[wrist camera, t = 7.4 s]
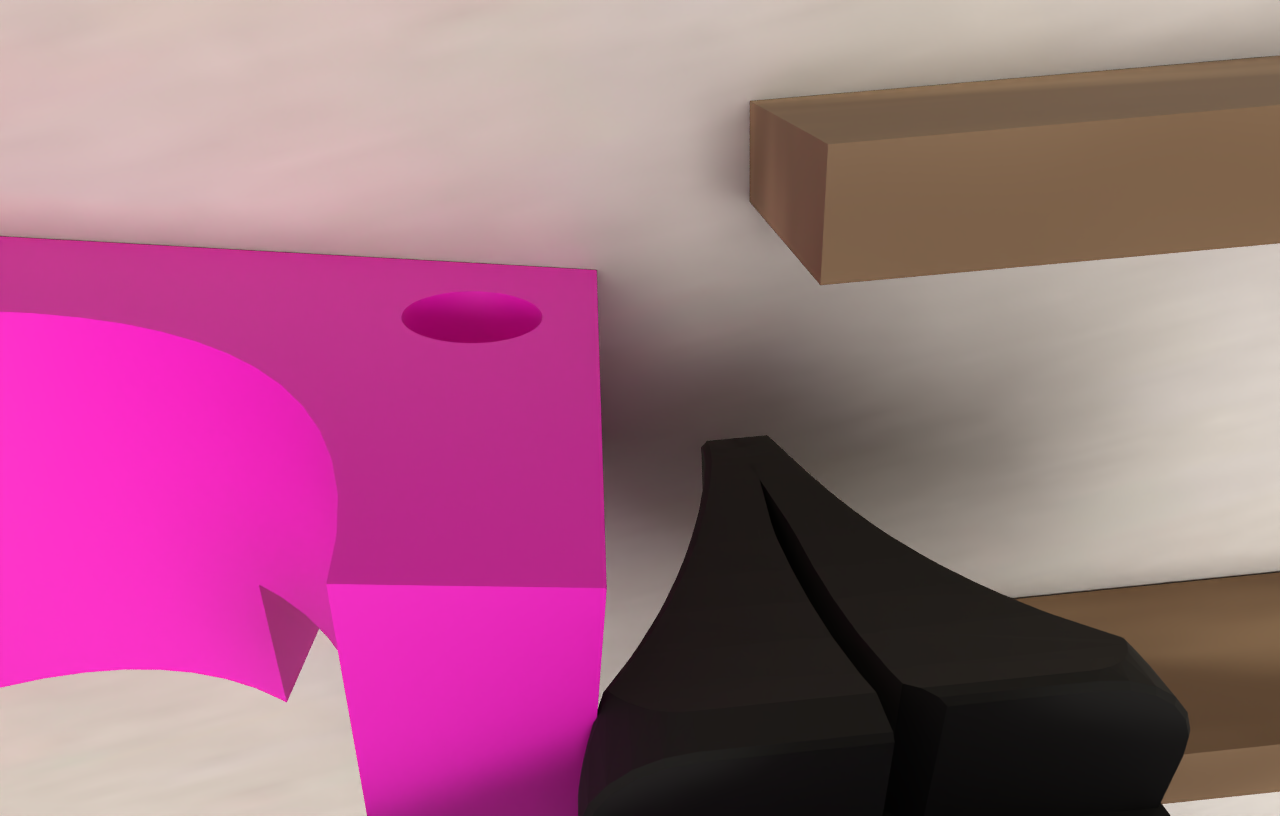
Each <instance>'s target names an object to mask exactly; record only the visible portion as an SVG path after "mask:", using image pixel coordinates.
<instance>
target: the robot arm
mask: <svg viewBox="0 0 1280 816" xmlns="http://www.w3.org/2000/svg"><path fill="white" fill-rule="evenodd" d="M701 453H702V483H703V492H702V497H701V503H700V509H699V513H698V517H697V520H696V524H695V527H694V531H693V534H692V538H691V541H690V544H689V547H688V550H687V553H686V556H685V558H684V561H683V563H682V566H681V568H680V571H679V573H678V576H677V578H676V580H675V582H674V584H673V586H672V588H671V590H670V593H669V595H668V597H667V599H666V601H665V603H664V605H663V606H662V608H661V610H660V612H659V614H658V616H657V617H656V619H655V621H654V622H653V624H652V625H651V627H650V629H649V630H648V632H647V633H646V635H645V637H644V638H643V640H642V641H641V643H640V645H639V646H638V648H637V649H636V651H635V652H634V653H633V655H632V656H631V658H630V659H629V660H628V662H627V663H626V664H625V665H624V667H623V668H622V669H621V671H620V672H619V673H618V674H617V676H616V677H615V678H614V680H613V681H612V682H611V683H610V685H609V686H608V687H607V689H606V690H605V691H604V692H603V695H602V698H601V701H600V704H599V707H598V710H597V718H596V720H595V721H594V722H593V726H592V729H591V733H590V736H589V739H588V743H587V747H586V751H585V755H584V759H583V764H582V769H581V775H580V782H579V790H578V816H1170V814H1169V813H1168V812H1167V810H1166V809H1165V808H1164V806H1163V805H1162V803H1161V801H1162V799H1163V797H1164V795H1165V793H1166V791H1167V789H1168V787H1169V785H1170V783H1171V780H1172V778H1173V776H1174V774H1175V772H1176V770H1177V768H1178V766H1179V764H1180V762H1181V760H1182V758H1183V756H1184V752H1185V749H1186V745H1187V742H1188V738H1189V734H1190V724H1189V718H1188V712H1187V711H1186V709H1185V708H1184V707H1183V706H1182V704H1181V703H1180V702H1179V700H1178V699H1177V698H1176V696H1175V695H1174V694H1173V693H1172V692H1171V690H1170V689H1169V688H1168V687H1167V686H1166V684H1165V683H1164V682H1163V681H1162V680H1161V678H1160V677H1159V676H1158V675H1157V674H1156V672H1155V671H1154V670H1153V669H1152V668H1151V666H1150V665H1149V664H1148V663H1147V662H1146V661H1145V660H1144V659H1143V658H1142V657H1141V655H1140V654H1139V653H1138V652H1137V651H1136V650H1135V649H1134V648H1133V647H1132V646H1131V645H1130V644H1129V643H1128V642H1127V641H1126V640H1125V639H1124V638H1123V637H1120V636H1117V635H1114V634H1111V633H1108V632H1105V631H1102V630H1099V629H1096V628H1093V627H1090V626H1086V625H1083V624H1080V623H1077V622H1074V621H1071V620H1068V619H1065V618H1062V617H1059V616H1056V615H1053V614H1050V613H1048V612H1045V611H1042V610H1040V609H1037V608H1035V607H1032V606H1030V605H1027V604H1025V603H1022V602H1020V601H1017V600H1015V599H1012V598H1010V597H1007V596H1005V595H1002V594H1000V593H998V592H996V591H993V590H991V589H989V588H987V587H984V586H982V585H980V584H978V583H975V582H973V581H971V580H969V579H967V578H965V577H963V576H961V575H959V574H957V573H955V572H953V571H951V570H949V569H947V568H945V567H943V566H941V565H939V564H937V563H936V562H934V561H932V560H930V559H928V558H926V557H925V556H923V555H921V554H919V553H918V552H916V551H914V550H913V549H911V548H909V547H908V546H906V545H904V544H903V543H901V542H899V541H898V540H896V539H894V538H893V537H891V536H890V535H888V534H886V533H885V532H883V531H882V530H880V529H879V528H877V527H876V526H874V525H873V524H872V523H870V522H869V521H867V520H866V519H865V518H863V517H862V516H861V515H859V514H858V513H856V512H855V511H854V510H852V509H851V508H850V507H848V506H847V505H846V504H844V503H843V502H842V501H841V500H839V499H838V498H837V497H836V496H834V495H833V494H832V493H831V492H830V491H828V490H827V489H826V488H825V487H824V486H822V485H821V484H820V483H819V482H818V481H817V480H815V479H814V478H813V477H812V476H811V475H810V474H809V473H808V472H806V471H805V470H804V469H803V468H802V467H801V466H800V465H799V464H798V463H797V462H795V461H794V460H793V459H792V458H791V457H790V456H789V455H788V454H787V453H786V452H785V451H784V450H783V449H782V448H780V447H779V446H778V445H777V444H776V443H775V442H774V441H773V440H772V439H771V438H769V437H768V436H767V435H766V436H756V437H745V438H734V439H724V440H713V441H707V442H706V443H705V444H704V445H703V446H702V447H701Z"/></svg>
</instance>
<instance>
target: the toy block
mask: <svg viewBox="0 0 1280 816" xmlns="http://www.w3.org/2000/svg"><path fill="white" fill-rule="evenodd" d="M606 590H607V584H606V553H605V521H604V489H603V457H602V425H601V394H600V362H599V330H598V298H597V270H587V269H569V268H551V267H534V266H516V265H498V264H480V263H463V262H445V261H427V260H410V259H392V258H374V257H356V256H339V255H321V254H303V253H286V252H268V251H250V250H232V249H215V248H197V247H179V246H162V245H144V244H126V243H108V242H91V241H73V240H55V239H38V238H20V237H2V236H0V687H5V686H10V685H15V684H19V683H24V682H29V681H34V680H38V679H43V678H50V677H56V676H63V675H70V674H77V673H84V672H96V671H110V670H123V669H141V670H170V671H181V672H192V673H198V674H204V675H209V676H214V677H219V678H224V679H228V680H231V681H235V682H238V683H241V684H244V685H248V686H251V687H254V688H257V689H259V690H261V691H263V692H266V693H268V694H270V695H272V696H274V697H277V698H279V699H281V700H283V701H285V702H287V701H288V698H289V696H290V694H291V692H292V689H293V687H294V685H295V682H296V680H297V678H298V676H299V673H300V671H301V669H302V666H303V664H304V662H305V660H306V657H307V655H308V653H309V650H310V648H311V646H312V644H313V641H314V639H315V637H316V634H317V632H318V630H319V629H320V630H321V631H322V632H323V633H324V634H325V635H326V636H327V637H328V638H329V639H330V641H331V642H332V643H333V645H334V646H335V648H336V649H337V650H338V654H339V660H340V665H341V671H342V676H343V682H344V688H345V693H346V699H347V705H348V710H349V716H350V722H351V727H352V733H353V738H354V744H355V750H356V755H357V761H358V767H359V772H360V778H361V784H362V789H363V795H364V800H365V806H366V812H367V816H578V790H579V782H580V775H581V769H582V764H583V759H584V755H585V751H586V747H587V743H588V739H589V736H590V733H591V729H592V726H593V722H594V721H595V720H596V718H597V710H598V697H599V683H600V670H601V657H602V643H603V630H604V616H605V603H606Z"/></svg>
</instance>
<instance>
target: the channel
mask: <svg viewBox="0 0 1280 816" xmlns="http://www.w3.org/2000/svg"><path fill="white" fill-rule="evenodd" d="M750 203H751V204H752V205H753V206H754V207H755V209H756V210H757V211H758V212H759V213H760V214H761V216H762V217H763V218H764V219H765V220H766V222H767V223H768V224H769V225H770V226H771V227H772V229H773V230H774V231H775V232H776V233H777V235H778V236H779V237H780V238H781V239H782V240H783V242H784V243H785V244H786V245H787V246H788V247H789V249H790V250H791V251H792V252H793V253H794V255H795V256H796V257H797V258H798V259H799V260H800V262H801V263H802V264H803V265H804V266H805V267H806V269H807V270H808V271H809V272H810V273H811V275H812V276H813V277H814V278H815V279H816V280H817V282H818V283H819V284H820V285H827V284H838V283H849V282H860V281H871V280H882V279H893V278H904V277H915V276H926V275H937V274H947V273H958V272H969V271H980V270H991V269H1002V268H1013V267H1024V266H1035V265H1046V264H1057V263H1068V262H1079V261H1090V260H1101V259H1112V258H1123V257H1134V256H1145V255H1156V254H1167V253H1178V252H1189V251H1200V250H1210V249H1221V248H1232V247H1243V246H1254V245H1265V244H1276V243H1280V56H1269V57H1258V58H1246V59H1234V60H1223V61H1211V62H1199V63H1188V64H1176V65H1164V66H1153V67H1141V68H1129V69H1118V70H1106V71H1095V72H1083V73H1071V74H1060V75H1048V76H1036V77H1025V78H1013V79H1001V80H990V81H978V82H966V83H955V84H943V85H932V86H920V87H908V88H897V89H885V90H873V91H862V92H850V93H838V94H827V95H815V96H803V97H792V98H780V99H769V100H757V101H750ZM1015 600H1017V601H1020V602H1022V603H1025V604H1027V605H1030V606H1032V607H1035V608H1037V609H1040V610H1042V611H1045V612H1048V613H1050V614H1053V615H1056V616H1059V617H1062V618H1065V619H1068V620H1071V621H1074V622H1077V623H1080V624H1083V625H1086V626H1090V627H1093V628H1096V629H1099V630H1102V631H1105V632H1108V633H1111V634H1114V635H1117V636H1120V637H1123V638H1124V639H1125V640H1126V641H1127V642H1128V643H1129V644H1130V645H1131V646H1132V647H1133V648H1134V649H1135V650H1136V651H1137V652H1138V653H1139V654H1140V655H1141V657H1142V658H1143V659H1144V660H1145V661H1146V662H1147V663H1148V664H1149V665H1150V666H1151V668H1152V669H1153V670H1154V671H1155V672H1156V674H1157V675H1158V676H1159V677H1160V678H1161V680H1162V681H1163V682H1164V683H1165V684H1166V686H1167V687H1168V688H1169V689H1170V690H1171V692H1172V693H1173V694H1174V695H1175V696H1176V698H1177V699H1178V700H1179V702H1180V703H1181V704H1182V706H1183V707H1184V708H1185V709H1186V711H1187V712H1188V718H1189V724H1190V734H1189V738H1188V742H1187V745H1186V749H1185V752H1184V756H1183V758H1182V760H1181V762H1180V764H1179V766H1178V768H1177V770H1176V772H1175V774H1174V776H1173V778H1172V780H1171V783H1170V785H1169V787H1168V789H1167V791H1166V793H1165V795H1164V797H1163V799H1162V801H1161V803H1162V804H1167V803H1176V802H1185V801H1195V800H1204V799H1214V798H1223V797H1232V796H1242V795H1251V794H1260V793H1270V792H1279V791H1280V572H1278V573H1268V574H1259V575H1249V576H1239V577H1229V578H1219V579H1209V580H1199V581H1189V582H1179V583H1169V584H1159V585H1149V586H1139V587H1129V588H1119V589H1110V590H1100V591H1090V592H1080V593H1070V594H1060V595H1050V596H1040V597H1030V598H1020V599H1015Z"/></svg>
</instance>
